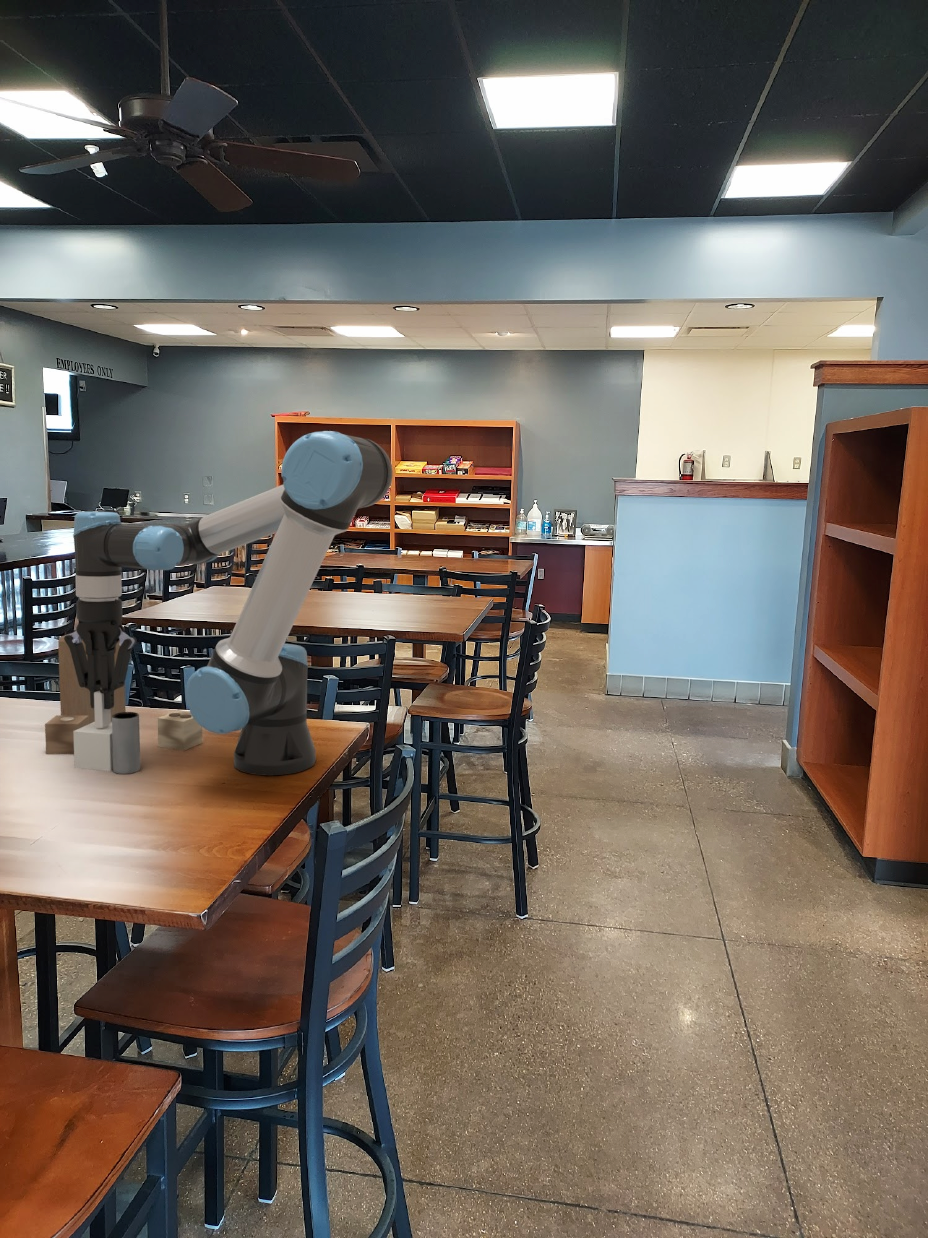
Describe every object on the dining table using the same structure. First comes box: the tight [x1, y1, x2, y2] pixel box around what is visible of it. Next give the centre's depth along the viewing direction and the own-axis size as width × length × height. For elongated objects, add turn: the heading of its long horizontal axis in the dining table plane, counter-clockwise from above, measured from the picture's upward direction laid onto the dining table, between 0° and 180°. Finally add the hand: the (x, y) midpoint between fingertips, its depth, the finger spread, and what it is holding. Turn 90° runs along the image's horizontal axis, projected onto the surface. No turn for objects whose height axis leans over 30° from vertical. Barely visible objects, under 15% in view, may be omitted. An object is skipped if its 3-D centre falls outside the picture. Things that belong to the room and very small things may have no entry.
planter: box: [112, 711, 141, 775], centre depth 146 cm, size 4×4×10 cm
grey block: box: [73, 722, 113, 772], centre depth 150 cm, size 7×7×7 cm
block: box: [57, 632, 127, 724], centre depth 172 cm, size 10×10×20 cm
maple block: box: [157, 710, 203, 752], centre depth 163 cm, size 6×6×6 cm
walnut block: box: [44, 714, 89, 755], centre depth 157 cm, size 6×6×6 cm
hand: (103, 725), depth 149 cm, fingers closed
